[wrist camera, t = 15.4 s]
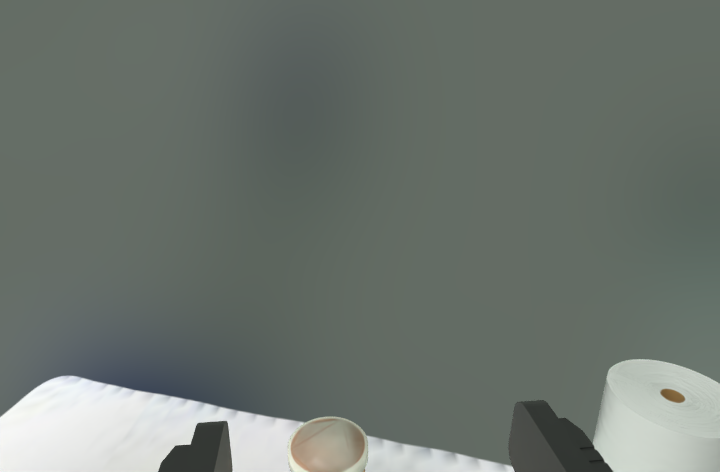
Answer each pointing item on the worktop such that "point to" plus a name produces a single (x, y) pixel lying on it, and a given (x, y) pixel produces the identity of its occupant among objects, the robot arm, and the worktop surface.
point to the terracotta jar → (328, 446)
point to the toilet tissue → (659, 419)
